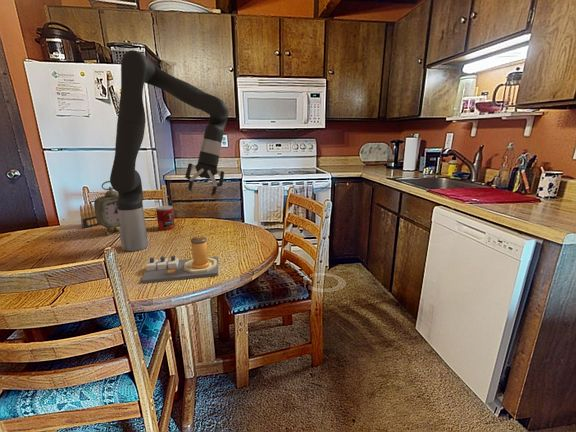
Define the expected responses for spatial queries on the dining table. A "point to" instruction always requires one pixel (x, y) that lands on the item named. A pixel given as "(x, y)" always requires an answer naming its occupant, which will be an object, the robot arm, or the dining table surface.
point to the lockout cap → (199, 253)
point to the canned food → (165, 217)
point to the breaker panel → (177, 269)
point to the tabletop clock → (107, 209)
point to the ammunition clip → (88, 217)
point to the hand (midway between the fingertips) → (201, 193)
